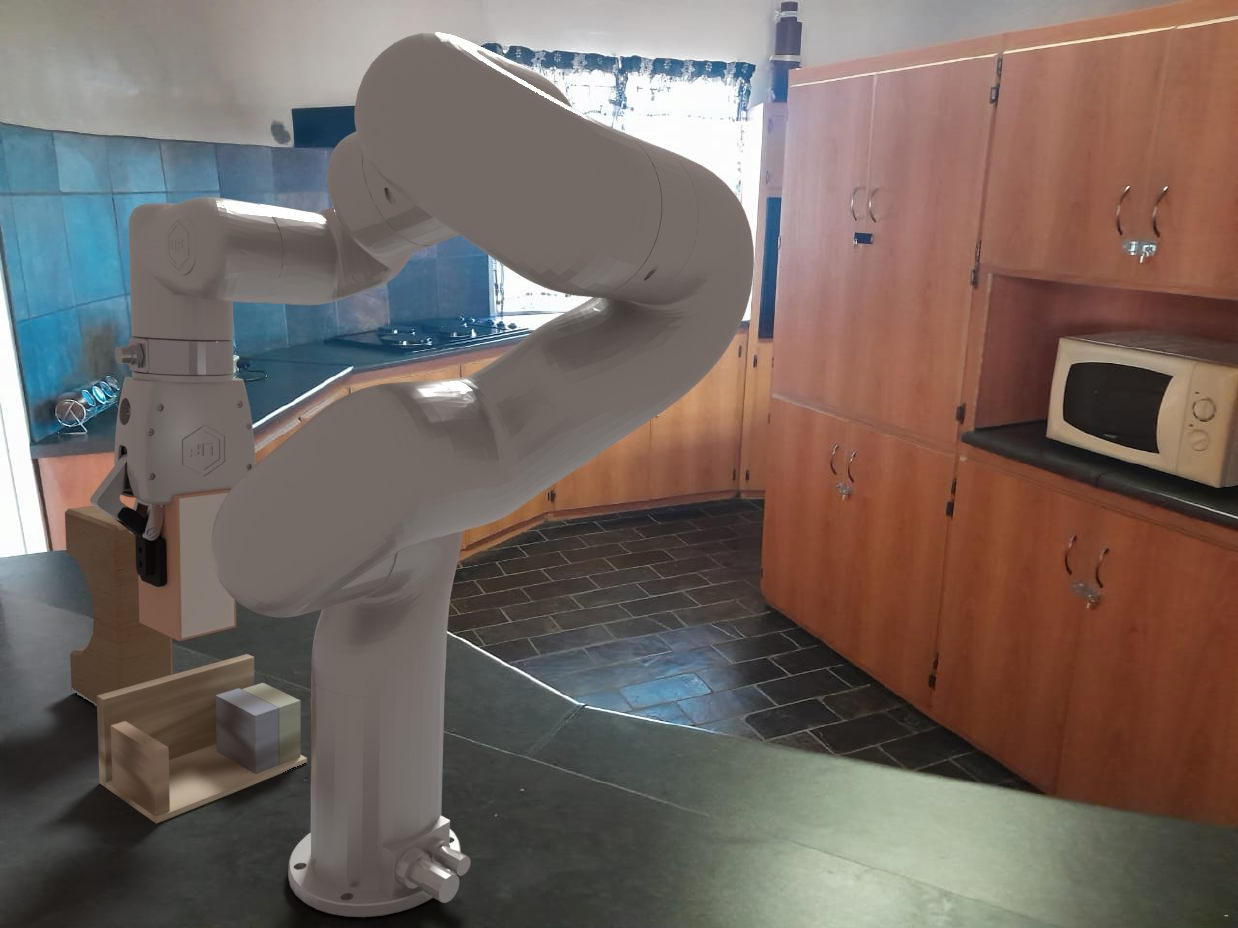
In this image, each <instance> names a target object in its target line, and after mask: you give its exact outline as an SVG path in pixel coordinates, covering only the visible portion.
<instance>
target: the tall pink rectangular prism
mask: <svg viewBox="0 0 1238 928" xmlns="http://www.w3.org/2000/svg"><path fill="white" fill-rule="evenodd" d="M230 490H231V489H224V490H216V491H208V492H199V493H191V494H182V495H174V501H173V503H172V504H170V505H165V515H164V519H163V523H162V526H161V530H160V538H163V539H165V541H166V558H167V583H166V585H165V586H162V587H156V586H153V585H151V584H149V583H146V582H144V581H142V580H141V578H140V575H138V584H139V622H140V623H142V624H144V625H146V626H148V627H150V628H152V629H154V630H157V631H159V632H161V633H163V634H165V635H167V636H169V637H171V638H172V640H173V639H174V640H176V641H178V642H182V641H185V640H190V639H193V638H197V637H202V636H206V635H210V634H214V633H218V632H219V633H220V632H223V631H226V630H230V629H234V628H237V601H236V600H235V599H234V598H233V597H232V596H231V595H230V594H229V593H228V592H227V591H226V590H225V588H224V587H223V585H222V584H221V582H220V580H219V578H218V576H217V574H216V571H215V568H214V564H213V559H212V533H213V527H214V523H215V519H216V516H217V513H218V511H219V509H220V506H221V504H222V502H223V501H224V499H225V497H226V496H227V494H228V493H229V492H230Z"/></svg>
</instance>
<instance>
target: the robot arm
mask: <svg viewBox="0 0 1238 928" xmlns="http://www.w3.org/2000/svg"><path fill="white" fill-rule="evenodd" d="M568 99H569V98H567V97H566V96H565V95H564V93H563V92H562V91H561V90H560V89H559V87H557V86H556V85H555V84H554V83H553V82H551V81H550V80H549V79H547V78H546V77H544V76H543V75H542V74H540V73H538V72H537V71H534V70H533V69H531V68H528V67H527V66H525V65H522V64H520V63H518V62H515V61H513V60H511V59H508V58H506V57H504V56H502V55H499V54H497V53H495V52H492V51H491V50H489V49H486V48H484V47H481V46H479V45H478V44H475V43H474V42H471V41H469V40H465V39H464V38H462V37H461V38H460V37H458V36H456V35H452V34H450V33H449V34H448V33H443V32H437V31H436V32H435V31H434V32H421V33H417V34H413V35H408V36H406V37H404V38H402V39H399V40H397V41H395V42H393V43H392V44H390V46H388V47H387V48H385V50H383V51H382V52H380V54H379V55H378V56H377V57H376V58H375V59H374V60H373V61H372V62H371V64H370V66H369V67H368V68H367V70H366V72H365V73H364V75H363V77H362V79H361V82H360V85H359V87H358V90H357V93H356V99H355V104H354V114H353V115H354V126H355V131H354V132H351V133H350V134H349V135H347V136H344V138H342V139H341V140H340V141H339V142H338V143H337V145H336V146H335V147H334V149H333V150H332V152H331V154H330V156H329V161H328V162H327V163H328V165H327V170H326V183H327V191H328V195H329V199H330V203H331V207H327V208H324V209H321V210H317V211H305V210H300V209H294V208H289V207H284V206H277V205H269V204H264V203H256V202H251V201H244V200H243V201H242V200H237V199H231V198H225V197H217V196H215V197H214V196H200V197H194V198H190V199H186V200H184V201H181V202H179V203H169V202H166V203H165V202H153V203H152V202H148V203H144V204H139V205H138V206H136V207H134V209H133V210H132V211H131V213H130V216H129V220H128V245H129V247H128V249H129V250H128V251H129V257H128V258H129V285H130V289H129V290H130V323H131V325H130V329H131V330H130V331H131V332H130V333H131V337H129V338H128V341H129V342H128V344H127V345H125V346H122V345H120V346H116V347H115V348H114V349H115V350H114V359H115V362H116V363H117V364H123V365H124V364H126V365H128V366H129V371H131V376H126V377H124V380H123V385H122V388H121V393H120V396H119V397H120V398H119V403H118V410H117V416H116V426H115V436H114V437H115V440H114V458H113V459H114V463H113V464H114V465H113V467H112V469H111V470H110V471H109V473H108V474H107V475H106V477H104V479H103V480H102V482H101V483H100V484H99V486H98V487H97V489H96V490H95V491H94V492H93V494H92V495H91V496H90V499H89V502H90V504H91V506H95V507H97V508H98V509H100V510H101V511H103V512H105V513H106V514H108V515H110V516H112V517H113V518H114V519H115V520H117V521H118V522H119V523H120V524H122V525H123V526H124V527H125V528H127V529H128V530H129V532H130V533H131V534H134V535H135V543H136V570H137V573H138V575H140V578H141V580H142V581H144V582H146V583H149V584H151V585H153V586H156V587H162V586H165V585H166V583H167V558H166V541H165V539H163V538H160V530H161V526H162V523H163V519H164V515H165V505H170V504H172V503H173V501H174V495H182V494H191V493H199V492H208V491H216V490H224V489H231V490H230V492H229V493H228V494H227V496H226V497H225V499H224V501H223V502H222V504H221V506H220V509H219V511H218V513H217V516H216V519H215V523H214V527H213V533H212V559H213V564H214V568H215V571H216V574H217V576H218V578H219V580H220V582H221V584H222V585H223V587H224V588H225V590H226V591H227V592H228V593H229V594H230V595H231V596H232V597H233V598H234V599H235V600H236V603H238V604H240V606H243V607H244V608H246V609H248V610H250V611H252V612H254V613H257V614H259V615H262V616H266V617H272V618H292V617H298V616H302V615H305V614H310V613H313V612H318V611H320V610H321V612H320V615H319V618H318V619H317V620H318V621H317V624H316V627H315V631H314V636H313V640H312V641H313V643H312V649H311V676H310V677H311V679H310V683H311V684H310V685H311V686H310V832H309V833H308V834H306V835H305V836H304V837H302V839H301V840H300V841H299V842H298V843H296V844H297V845H296V846H294V848H293V850H292V852H291V854H290V857H289V860H288V867H287V868H288V874H287V875H288V876H287V877H288V882H289V886H290V888H291V890H292V891H293V893H294V895H295V896H296V897H298V899H299V900H301V901H302V902H303V903H305V904H306V905H307V906H309V907H312V908H314V909H315V910H318V911H321V912H324V913H327V914H331V915H336V916H343V917H348V918H350V917H351V918H353V917H354V918H370V917H380V916H381V917H383V916H386V915H391V914H395V913H400V912H404V911H407V910H410V909H413V908H416V907H417V906H420V905H422V904H424V903H426V902H428V901H430V900H431V899H435V900H437V901H438V902H440V903H442V904H443V903H444V904H446V903H449V902H450V901H452V899H453V898H454V897H455V896H456V894H457V892H458V891H459V888H460V887H459V886H460V877H461V876H464V875H465V874H466V873H467V872H468V871H469V869H470V867H471V861H472V860H471V858H470V857H469V856H468V855H466V854H464V853H463V852H461V851H462V850H461V849H462V848H461V844H460V840H459V838H458V836H457V834H456V833H455V832H454V831H453V830H452V829H451V820H450V819H448V818H446V817H445V816H443V815H442V803H443V802H442V799H443V797H442V796H443V795H442V794H443V760H444V758H443V756H444V725H445V722H444V721H445V720H444V719H445V716H444V715H445V690H446V689H445V686H446V685H445V684H446V683H445V682H446V671H447V670H446V667H447V665H446V664H447V640H448V639H447V638H448V624H449V623H448V622H449V612H450V602H451V594H452V591H453V585H454V579H455V576H456V570H457V567H458V562H459V559H460V558H459V557H460V553H461V548H462V543H463V533H464V531H467V530H472V529H475V528H478V527H482V526H485V525H488V524H492V523H494V522H496V521H499V520H502V519H504V518H506V517H507V516H509V515H511V514H512V513H514V512H516V511H517V510H519V509H520V508H521V507H523V506H524V505H525V504H527V503H528V502H530V501H531V500H532V499H534V498H536V497H537V496H538V495H539V494H541V493H543V492H544V491H546V490H547V489H549V488H550V487H552V486H553V485H554V484H556V483H558V482H560V481H561V480H562V479H564V478H566V477H567V476H569V475H570V474H572V473H573V472H575V471H576V470H578V469H579V468H581V467H583V466H584V465H586V464H587V463H589V462H591V461H592V460H593V459H595V458H596V457H598V456H599V455H600V454H602V453H603V452H604V451H606V450H607V449H608V448H610V447H612V446H614V445H615V444H616V443H618V442H619V441H621V440H623V439H624V438H625V437H627V436H628V435H630V434H631V433H633V432H634V431H636V430H638V429H640V428H641V427H642V426H644V425H645V424H647V423H648V422H650V421H651V420H653V419H654V418H656V417H658V416H659V415H660V414H662V413H663V412H664V411H666V410H667V409H668V408H669V409H670V407H671V406H672V405H674V404H675V403H677V402H678V401H680V399H682V398H683V397H684V396H685V395H687V393H689V392H690V391H691V390H692V389H694V388H695V387H696V386H697V385H698V384H699V383H700V382H701V381H702V380H703V379H704V378H705V377H706V376H707V375H708V374H709V373H710V372H711V370H712V369H713V368H714V367H715V366H716V365H717V364H718V362H719V361H720V359H721V358H722V356H723V355H724V354H725V353H726V351H727V350H728V348H729V347H730V345H731V344H732V342H733V340H734V338H735V336H736V334H737V332H738V330H739V328H740V326H741V324H742V322H743V319H744V317H745V314H746V311H747V308H748V305H749V300H750V297H751V293H752V286H753V280H754V268H755V252H754V251H755V250H754V249H755V248H754V240H753V235H752V230H751V227H750V222H749V220H748V216H747V214H746V212H745V209H744V207H743V205H742V204H741V201H740V200H739V197H738V196H737V195H736V194H735V192H734V191H733V190H732V189H731V188H730V186H729V185H728V184H727V183H726V182H725V181H723V179H722V178H720V177H719V176H718V175H717V174H716V173H714V172H713V171H711V170H710V169H708V168H707V167H705V166H703V165H702V164H700V163H698V162H696V161H694V160H691V159H690V158H687V157H685V156H683V155H681V154H678V153H676V152H674V151H671V150H669V149H666V148H664V147H661V146H658V145H655V144H653V143H651V142H648V141H646V140H643V139H641V138H638V137H636V136H633V135H631V134H629V133H626V132H623V131H621V130H619V129H616V128H614V127H612V126H609V125H607V124H605V123H602V122H601V121H599V120H596V119H594V118H592V117H590V116H588V115H586V114H585V113H583V112H581V111H579V110H577V109H575V108H574V107H573V106H572V104H571V103H570V101H569V100H568ZM459 236H460V237H462V238H463V239H464V240H466V241H467V242H469V243H470V244H472V245H473V246H475V247H476V248H478V249H479V250H481V251H482V252H484V253H485V254H486V255H488V256H489V257H491V258H492V259H494V260H495V261H496V262H498V263H499V264H501V265H503V266H505V267H506V268H508V269H509V270H511V271H512V272H514V273H515V274H517V275H519V276H520V277H522V278H524V279H525V280H527V281H528V282H531V283H533V284H536V285H537V286H540V287H542V288H544V289H547V290H550V291H554V292H557V293H561V294H565V295H569V296H576V297H588V298H590V299H588V300H586V301H585V302H583V303H581V304H580V305H578V306H576V307H573V309H570V310H568V311H566V312H564V313H562V314H560V315H558V316H557V317H555V318H553V319H551V320H549V321H547V322H545V323H544V324H542V325H540V326H539V327H538V328H536V329H534V330H532V332H530V333H528V335H526V336H525V337H524V338H523V339H522V340H520V341H519V343H517V344H516V345H514V347H512V348H511V349H509V350H508V351H506V352H505V353H504V354H502V355H501V356H500V357H497V358H496V359H495V360H494V361H492V362H490V363H489V364H487V365H486V366H484V367H482V368H481V369H478V370H477V371H475V372H473V373H471V374H468V375H466V376H462V377H461V376H460V377H456V378H448V379H440V380H418V381H415V380H414V381H401V382H400V381H399V382H387V383H382V384H381V383H379V384H375V385H372V386H367V387H364V388H360V389H358V390H355V391H353V392H350V393H348V394H346V395H344V396H342V397H340V398H338V399H336V400H334V401H333V402H331V403H330V404H328V405H327V406H325V407H324V408H323V409H321V410H320V411H319V412H317V413H316V414H315V415H314V416H313V417H311V418H310V419H308V421H307V422H305V423H304V424H303V425H302V426H300V427H299V428H298V429H297V430H296V431H294V432H293V433H292V434H291V435H290V436H289V437H287V438H286V439H284V441H282V442H281V443H280V444H279V445H277V446H276V447H275V448H274V449H273V450H272V451H271V452H269V453H268V454H267V455H266V456H264V458H262V459H261V460H260V461H258V462H256V447H255V436H254V435H255V434H254V427H253V419H252V412H251V406H250V401H249V398H248V394H247V393H248V392H247V388H246V385H245V381H244V379H243V378H239V377H238V378H237V377H234V372H235V371H234V329H233V328H234V303H247V304H248V303H249V304H250V303H251V304H252V303H258V304H259V303H260V304H277V305H278V304H279V305H281V304H282V305H297V306H317V305H318V306H319V305H325V304H330V303H334V302H338V301H341V300H344V299H347V298H350V297H353V296H356V295H360V294H362V293H365V292H368V291H371V290H374V289H376V288H378V287H381V286H384V285H385V284H387V283H389V282H390V281H392V280H393V279H395V277H397V276H398V274H399V273H400V272H401V271H402V270H403V268H405V266H406V265H407V264H408V262H409V260H410V258H411V256H412V254H413V253H416V252H418V251H419V252H420V251H422V250H423V249H426V248H429V247H432V246H435V245H437V244H439V243H442V242H444V241H447V240H449V239H450V240H451V239H453V238H455V237H459ZM121 496H124V497H126V498H132V499H133V498H135V501H134V505H133V507H130V506H128V505H126V503H124V502H123V501H121V499H120V498H121ZM131 508H133V509H131Z"/></svg>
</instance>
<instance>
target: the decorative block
mask: <svg viewBox="0 0 1238 928" xmlns="http://www.w3.org/2000/svg"><path fill="white" fill-rule="evenodd" d="M130 508H131V509H133V507H130ZM64 524H65V525H64V527H65V529H64V530H65V553H67V554H68V555H69V556H71V558H72V559H74V560H75V561H76V563H77V564H78V566H79V568H80V570H81V572H82V573H83V575H84V578H85V582H86V584H87V587H88V590H89V592H90V596H91V603H92V610H93V612H92V613H93V625H92V634H91V637H90V640H89V642H88V645H87V646H85V647H80V648H75V649H73V650H72V652H70V655H69V656H70V657H69V659H70V682H71V683H70V684H71V689H72V688H73V689H74V690H76V691H78V692H79V693H81V694H82V695H84V696H85V697H87V698H88V699H90V700H92V701H93V702H95V703H96V704H97V695H101V694H104V693H108V692H112V691H115V690H119V689H123V688H126V687H130V686H133V685H137V684H141V683H144V682H148V681H151V680H155V679H159V678H162V677H166V676H169V675H173V674H174V663H173V662H174V657H173V655H174V654H173V638H171V637H169V636H167V635H165V634H163V633H161V632H159V631H157V630H154V629H152V628H150V627H148V626H146V625H144V624H142V623H140V622H139V584H138V573H137V570H136V543H135V535H134V534H131V533H130V532H129V530H128V529H127V528H125V527H124V526H123V525H122V524H120V523H119V522H118V521H117V520H115V519H114V518H113V517H112V516H110V515H108V514H106V513H105V512H103V511H101V510H100V509H98V508H97V507H95V506H93V505H87V506H79V507H70V508H67V510H66V511H64Z"/></svg>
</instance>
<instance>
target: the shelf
mask: <svg viewBox="0 0 1238 928" xmlns="http://www.w3.org/2000/svg"><path fill="white" fill-rule="evenodd" d="M301 702H302V701H301V699H298V698H296V697H294V696H292V695H290V694H287V693H285V692H284V691H281V690H279V689H277V688H275V687H273V686H271V685H269V684H266V683H265V682H260V683H258V684H255V656H253V655H250V654H249V653H245V654H241V655H238V656H235V657H231V658H229V659H224V660H221V661H217V662H214V663H209V664H206V665H202V666H198V667H196V668H192V669H188V670H184V671H181V672H177V673H173V675H169V676H166V677H162V678H159V679H155V680H151V681H148V682H144V683H141V684H137V685H133V686H130V687H126V688H123V689H119V690H115V691H112V692H108V693H104V694H101V695H97V707H96V713H97V715H96V717H97V740H98V741H97V745H98V747H97V749H98V773H99V777H98V778H99V784H100V785H102V786H103V787H104V788H106V789H107V790H109V791H110V792H111V793H112V794H114V795H116V796H117V797H118V798H120V799H121V800H122V801H124V802H125V803H127V804H128V805H129V806H130V807H132V808H133V809H134V810H136V811H138V812H139V813H140V814H142V815H144V816H145V817H146V818H148V819H149V820H151V821H152V822H153V823H155V824H159V823H161V822H164V821H166V820H169V819H171V818H174V817H176V816H179V815H182V814H184V813H186V812H189V811H193V810H194V809H196V808H199V807H201V806H204V805H206V804H209V803H212V802H214V801H216V800H219V799H222V798H224V797H227V796H229V795H232V794H234V793H236V792H238V791H241V790H243V789H246V788H248V787H251V786H254V785H256V784H258V783H259V784H260V783H261V782H263V781H266V780H268V779H270V778H273V777H276V776H278V775H281V774H283V772H284V773H286V772H288V771H287V770H289V769H291V768H293V767H296V768H298V767H297V766H299V765H301V766H303V765H302V764H304V763H306V762H307V763H308V757H306V756H305V755H302V753H301V748H302V747H301V746H302V745H301V739H302V738H301V729H302V728H301V726H302V725H301V723H302V722H301V721H302V720H301V718H302V717H301V715H302V714H301V713H302V712H301V709H302V708H301V707H302V705H301ZM307 763H306V764H307ZM304 765H305V764H304ZM299 767H300V766H299ZM291 770H292V769H291ZM285 771H286V772H285ZM289 771H290V770H289Z"/></svg>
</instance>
